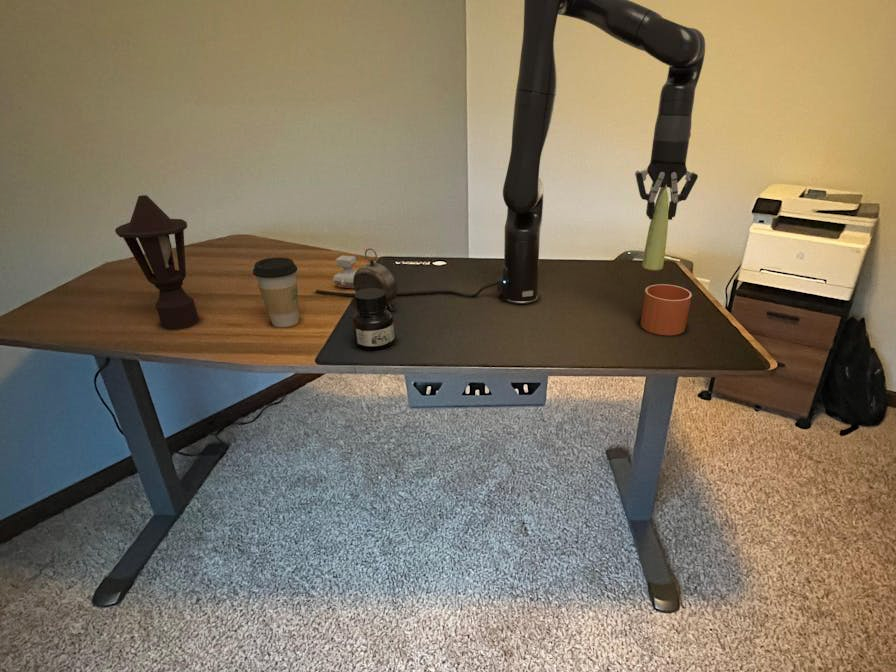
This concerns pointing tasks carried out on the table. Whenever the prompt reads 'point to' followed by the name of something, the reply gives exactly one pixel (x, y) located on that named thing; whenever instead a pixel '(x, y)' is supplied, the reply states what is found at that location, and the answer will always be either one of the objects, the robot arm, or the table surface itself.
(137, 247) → the lantern
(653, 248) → the tube
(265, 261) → the coffee cup
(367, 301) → the ink bottle
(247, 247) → the table surface
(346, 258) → the stamp
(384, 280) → the alarm clock
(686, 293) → the pen cup
